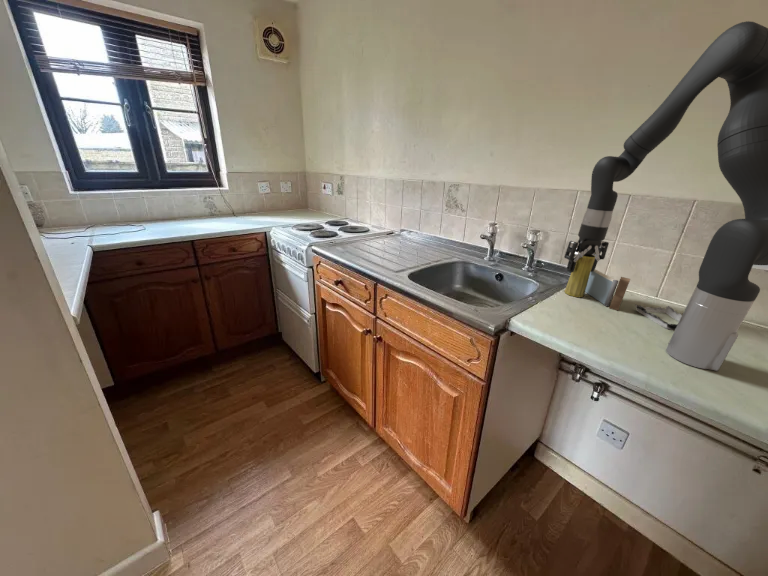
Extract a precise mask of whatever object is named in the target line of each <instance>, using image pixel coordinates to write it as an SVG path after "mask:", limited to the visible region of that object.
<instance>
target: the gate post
mask: <svg viewBox="0 0 768 576" xmlns="http://www.w3.org/2000/svg"><path fill="white" fill-rule="evenodd" d="M630 281H631V278H628V277H623V276H621V277H620V278H619V280H618V284H617V287H616V289H615V292H614V295H613V297H612V300H611V303H610V305H609V306H608V308H609V309H610V310H615V311H619V309H620V307H621V304H622V302H623V299H624V296H625V295H626V291H627V289H628V287H629V284H630Z"/></svg>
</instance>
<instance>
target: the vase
mask: <svg viewBox="0 0 768 576" xmlns="http://www.w3.org/2000/svg"><path fill="white" fill-rule="evenodd" d="M594 260H595V256H594V255H589V254H588V255H583V257H580V258H579V259H578V260H577V261H576V265H575V269H574V272H570V276H569V277H568V281H567V284H566V286H565V289H564V293H565V294H566V295H568V296H570V297H574V298H583V297H584V296H585V293H586V292H585V290H586V286H587V283H588V279H589V275H590V272H591V269H592V266H593V263H594Z"/></svg>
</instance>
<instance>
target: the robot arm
mask: <svg viewBox="0 0 768 576" xmlns="http://www.w3.org/2000/svg"><path fill="white" fill-rule="evenodd" d="M718 78H721V79H723V80H725V82H726V83H727V87H728V91H729V98H730V104H729V105H730V106H729V111H728V113H727V116H726V118H725V120H724V121H723V124H722V126H721V128H720V129H719V133H718V137H717V156H718V157H717V159H718V160H717V161H718V166H719V170H720V172H721V174H722V175H723V177H724V179H725V180H726V181H727V182H728V184H729V185H730V186H731V188H732V189H733V191H734V192H735V193H736V194H737V196H738V197H739V199H740V201H741V203H742V207H743V211H744V218H738V219H737V218H736V219H732V220H730V221H727V222H726V223H724V224H722V226H720V227H719V228H718V229H717V230H716V232H715V233H714V234H713V236H712V237H711V240H710V241H709V244H708V246H707V249H706V252H705V254H704V256H703V259H702V262H701V264H700V266H699V269H698V281H697V283H696V286H695V289H694V290H693V292H692V295H691V296H690V299H689V300H688V302H687V304H686V307H685V309H684V311H683V313H682V314H681V315H682V317H681V319H680V321H679V322H678V323H677V324H678V325H677V327H676V329H675V330H673V331H674V332H673V333H672V335H671V338H670V339H669V341H668V343H667V346H666V348H665V351H666V353H667V354H668V355H670V356H671V357H672V358H674V359H676V361H679V362H681V363H683V364H686V365H688V366H691V367H695V368H698V369H705V370H712V371H715V372H719V370H720V368H721V367H722V364H723V363H724V361H725V359H726V358H727V356H728V355H729V353H730V351H731V349H732V347H733V346H734V344H735V343H736V341H737V339H738V337H739V334H738V330H739V328H740V327H741V325H742V323H743V322H744V320H745V318H746V316H747V314H748V313H749V311H750V309H752V306H753V304H754V302H755V301H756V299H757V298H758V295H759V294H760V292H761V288H760V286H759V285H758V284H756V283H754V282H752V281H750V279H749V275H750V274H751V271H752V269H753V266H768V27H766V26H764V25H762V24H760V23H757V22H756V21H755V22H754V21H749V20H748V21H742V22H739V23H736V24H734V25H732V26H731V27H729V28H727V29H726V30H725V31H723V32H722V33H721V34H720V35H718V36H717V38H715V39H714V40H713V42H711V44H710V45H709V46H708V47H707V48H706V49H705V51H704V52H703V53H702V54H701V55H700V56H699V58H698V59H697V60H696V61H695V62H694V64H693V65H692V66H691V68H689V70H688V71H687V73H685V75H684V76H683V77H682V78H681V80H680V81H678V84H677V85H675V86H674V88H673V89H672V91H671V92H670V93H669V94H668V96H667V97H666V98H665V100H663V102H662V103H661V104H660V105H659V106H658V108H657V109H656V110H655V111H654V112H652V114H650V116H649V117H648V118H647V119H646V120H645V121H644V122H643V123H642V124H640V125H639V127H638V128H636V130H634V131H633V133H632V134H630V135H629V136H628V137H627V139H625V141H623V152H622V153H621V154H620V155H619V156H613V155H609V156H608V155H607V156H603V157H602V158H600V159H599V160H598V161H597V162H596V164H595V165H594V167H593V169H592V172H591V181H590V182H591V183H590V185H591V186H590V198H589V200H588V203H587V208H586V210H585V212H584V214H583V217H582V220H581V224H580V226H579V227H580V228H579V231H578V234H577V236H578V237H579V239H578V240H577V241H574V240H570V241H569V242H568V245H567V248H566V251H565V254H564V257H563V258H564V259H567V260H568V262H567V266H566V271H567V272H569V273H571V272H574V269H575V265H576V261H577V260H578V259H579V258H580V257H583V255H588V254H589V255H594V256H595V260H594V263H593V266H592V269H591V272H593V271H594V270H595V269H596V267H597V264H598V262H600V260H605V258H606V255H607V251H608V247H609V243H610V242H607V241H605V239H606V236H607V233H608V230H609V227H610V224H611V221H612V217H613V211H614V210H615V206H616V202H617V200H618V192H617V191H615V190H614V183H617V182H622V181H624V180H625V179H627V178H628V177H630V176H631V175H632V174H633V173H634V172H635V171H636V170H637V168H639V166H640V165H641V164H642V162H644V160H645V158H646V157H647V156H648V155H649V154H650V153H651V152H652V151H653V150H655V149H656V148H657V147H658V146H659V145H660V144H662V143H663V142H664V141H665V140H666V139H667V138H668V137H669V136H671V134H672V133H673V132H674V131H675V130H676V128H677V127H678V126H679V124H680V122H681V120H682V119H683V117H684V116H685V114H686V112H687V110H688V109H689V107H690V106H691V104H692V103H693V102H694V100H695V99H696V98H697V96H699V95H700V93H702V91H703V90H705V88H707V87H708V86H709V85H711V84H712V83H713V82H714V81H715V80H716V79H718Z"/></svg>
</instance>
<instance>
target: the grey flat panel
mask: <svg viewBox="0 0 768 576" xmlns="http://www.w3.org/2000/svg"><path fill="white" fill-rule="evenodd" d="M618 283H619V280H618V279H614V278H612V277H611V276H608V275H607V274H605V273H603V272H601V271H599V270H598V269H596V268H595V270H594V271H593V272H590V275H589V279H588V283H587V286H586V290H585V293H586V294H588V295H589V296H590V297H592V298H594V299H595V300H596V301H598V302H600V303H601V304H603V305H604V306H605V307H610V305H611V302H612V299H613V297H614V294H615V291H616V289H617V286H618Z"/></svg>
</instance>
